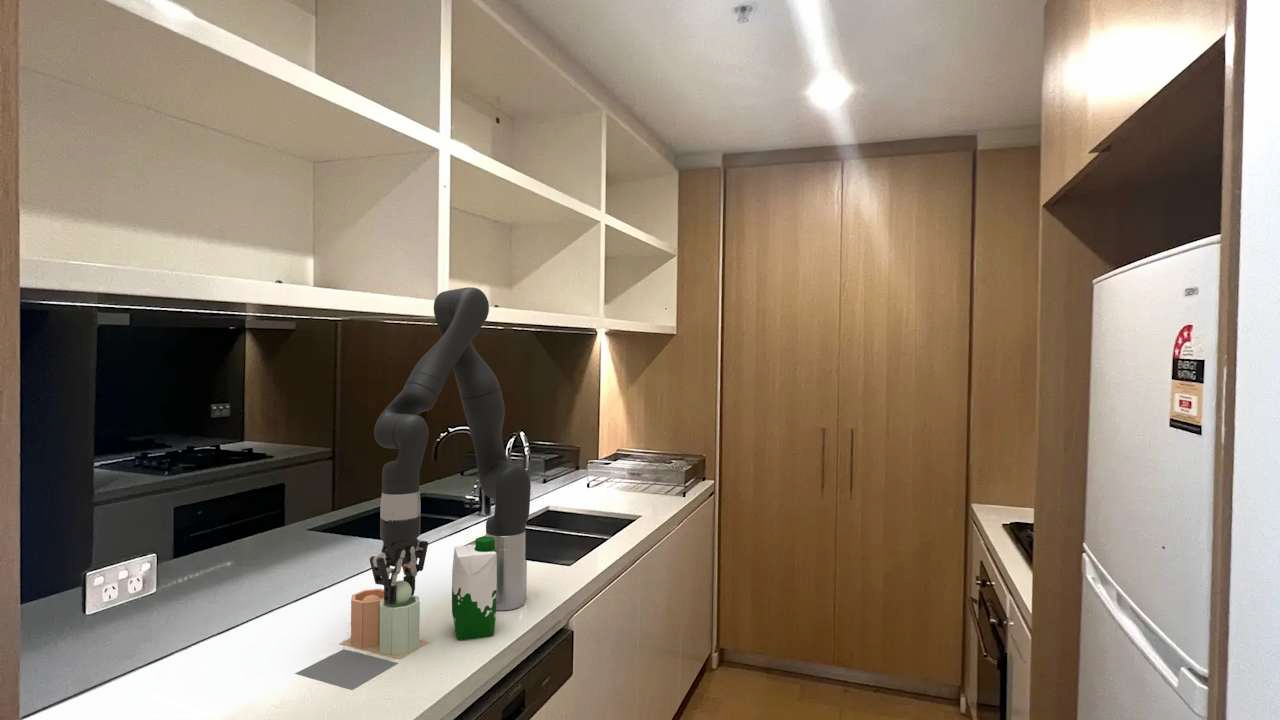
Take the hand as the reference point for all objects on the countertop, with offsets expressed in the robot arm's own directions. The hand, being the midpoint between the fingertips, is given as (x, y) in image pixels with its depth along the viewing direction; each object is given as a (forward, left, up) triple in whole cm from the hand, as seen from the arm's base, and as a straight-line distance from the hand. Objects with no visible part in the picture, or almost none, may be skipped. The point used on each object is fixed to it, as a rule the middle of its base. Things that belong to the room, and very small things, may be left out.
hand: (399, 598), depth 132 cm
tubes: (0, -4, -10) cm, 11 cm away
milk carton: (-12, +9, -10) cm, 18 cm away
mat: (+11, -2, -10) cm, 15 cm away
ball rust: (+1, -7, -4) cm, 8 cm away
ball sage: (0, 0, -1) cm, 1 cm away
